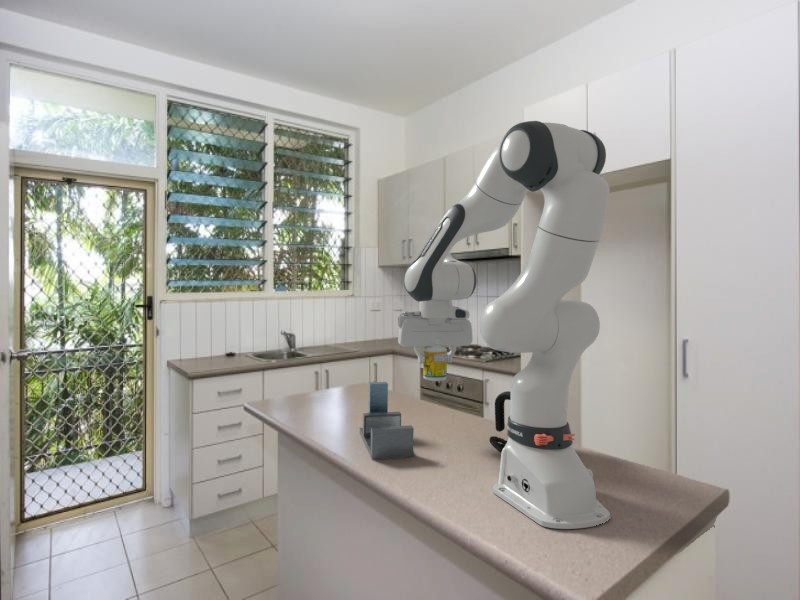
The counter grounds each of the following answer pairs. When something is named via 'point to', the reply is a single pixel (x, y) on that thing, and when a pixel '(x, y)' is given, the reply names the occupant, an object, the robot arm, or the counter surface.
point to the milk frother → (500, 420)
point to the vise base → (389, 442)
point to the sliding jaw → (379, 409)
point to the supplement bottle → (435, 361)
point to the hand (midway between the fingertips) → (435, 362)
